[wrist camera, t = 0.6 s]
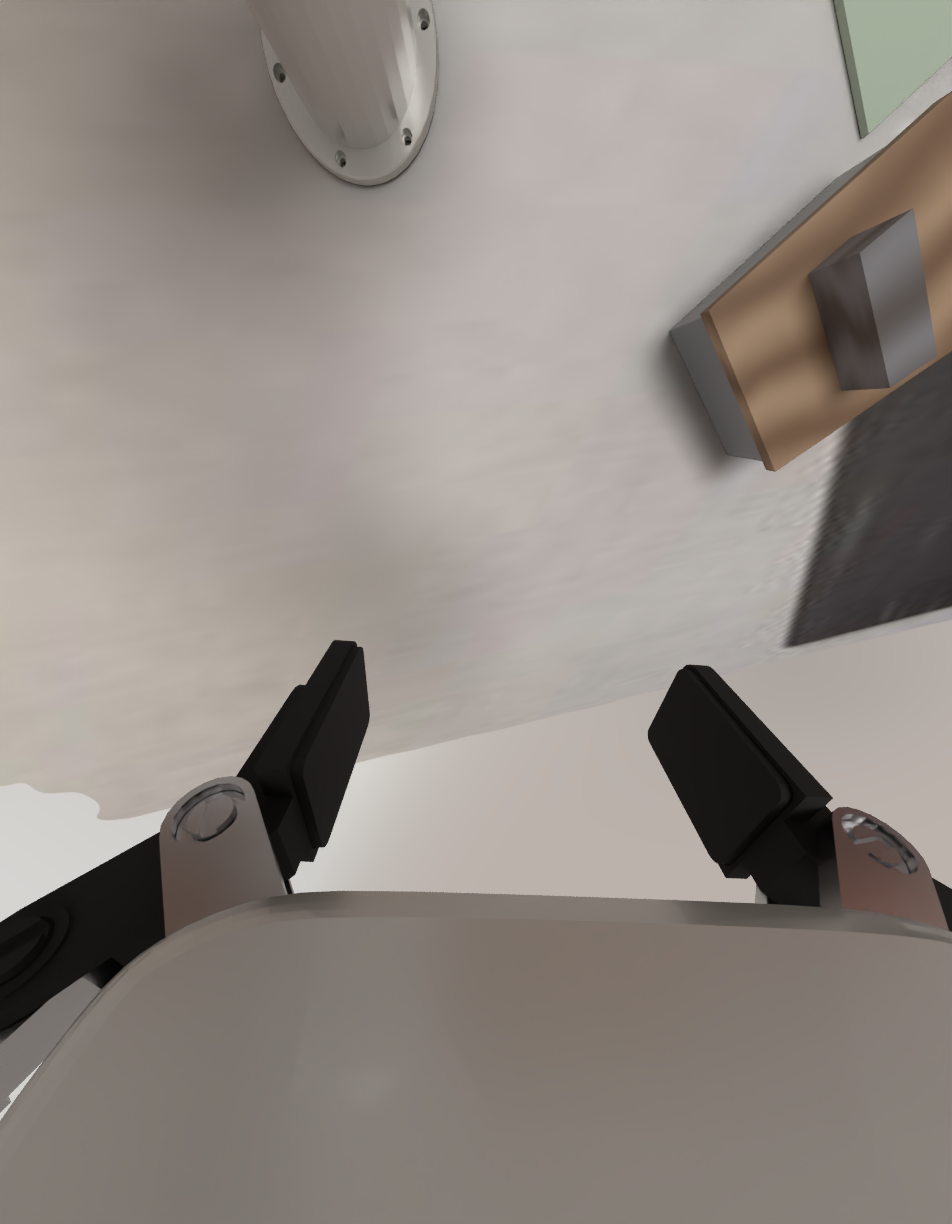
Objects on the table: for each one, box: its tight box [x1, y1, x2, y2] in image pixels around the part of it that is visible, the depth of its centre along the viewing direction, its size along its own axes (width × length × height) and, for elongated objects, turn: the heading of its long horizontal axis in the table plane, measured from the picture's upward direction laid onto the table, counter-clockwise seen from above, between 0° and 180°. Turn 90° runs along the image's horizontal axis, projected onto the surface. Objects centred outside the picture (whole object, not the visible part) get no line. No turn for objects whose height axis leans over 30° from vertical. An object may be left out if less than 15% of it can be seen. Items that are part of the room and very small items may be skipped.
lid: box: [700, 91, 952, 472], centre depth 26 cm, size 16×16×6 cm
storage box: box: [669, 146, 886, 461], centre depth 31 cm, size 15×15×6 cm
